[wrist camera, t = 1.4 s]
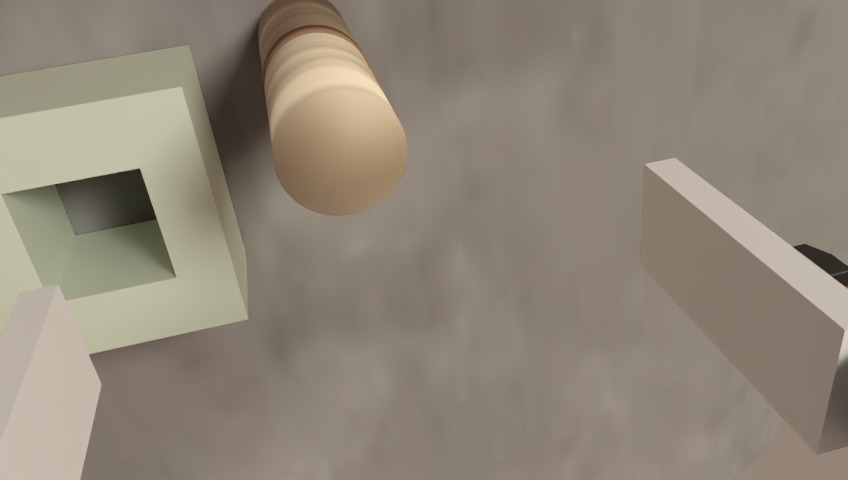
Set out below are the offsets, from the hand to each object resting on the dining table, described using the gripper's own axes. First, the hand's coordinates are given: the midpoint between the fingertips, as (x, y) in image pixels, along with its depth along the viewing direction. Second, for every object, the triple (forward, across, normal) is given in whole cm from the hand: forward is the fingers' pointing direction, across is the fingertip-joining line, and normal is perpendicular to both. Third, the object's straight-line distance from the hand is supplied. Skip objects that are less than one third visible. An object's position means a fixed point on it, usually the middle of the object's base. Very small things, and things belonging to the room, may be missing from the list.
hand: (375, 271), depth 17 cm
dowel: (+20, 0, 0) cm, 21 cm away
